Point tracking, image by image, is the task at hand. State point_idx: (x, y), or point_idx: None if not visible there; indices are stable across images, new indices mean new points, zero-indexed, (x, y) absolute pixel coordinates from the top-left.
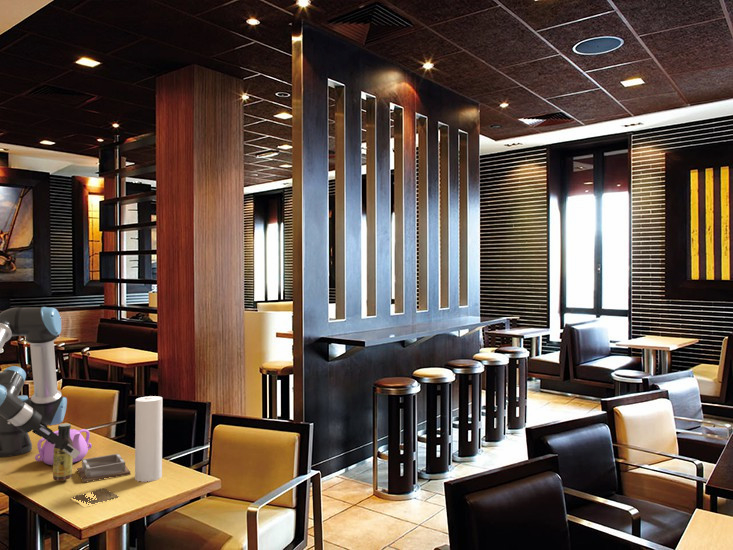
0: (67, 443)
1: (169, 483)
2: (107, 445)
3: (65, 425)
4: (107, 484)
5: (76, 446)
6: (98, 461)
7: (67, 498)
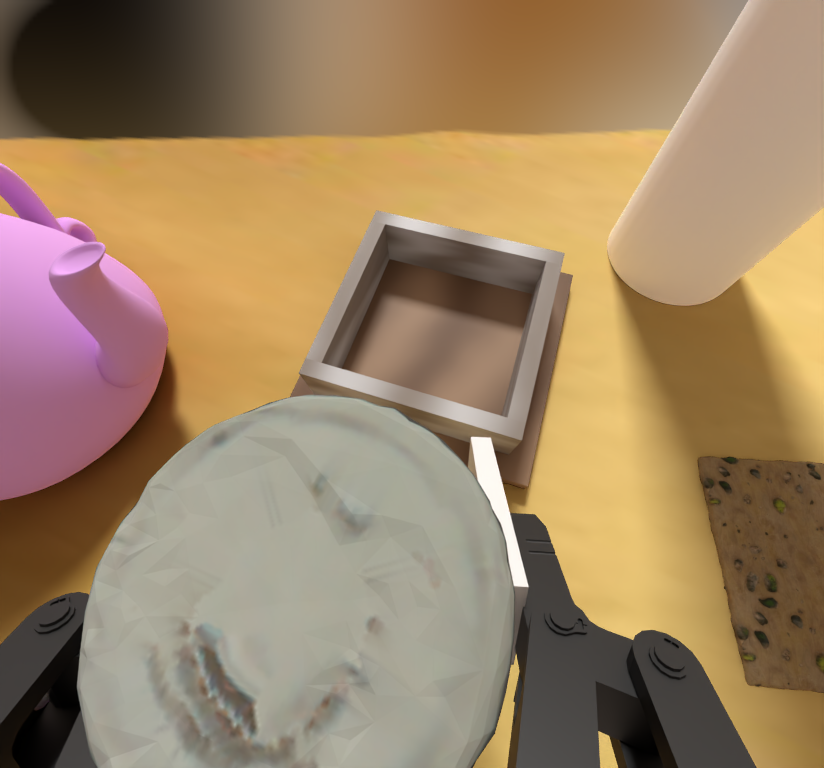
0: (690, 665)
1: (816, 240)
2: (79, 169)
3: (427, 614)
4: (638, 415)
5: (142, 326)
6: (354, 313)
7: (739, 693)
